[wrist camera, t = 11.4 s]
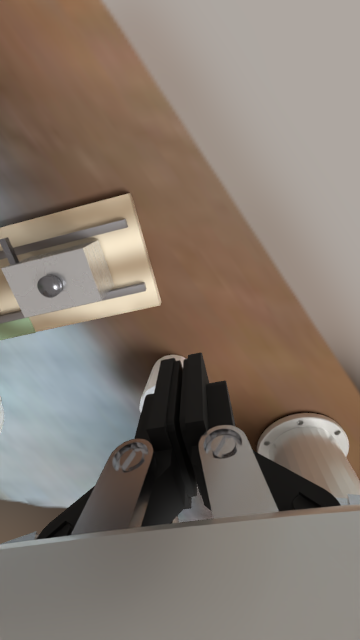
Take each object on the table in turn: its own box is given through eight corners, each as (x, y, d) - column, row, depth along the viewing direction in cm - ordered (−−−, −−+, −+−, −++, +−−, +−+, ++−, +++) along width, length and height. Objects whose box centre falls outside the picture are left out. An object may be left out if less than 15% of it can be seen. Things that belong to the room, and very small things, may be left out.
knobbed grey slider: (114, 285, 32) (99, 303, 27) (47, 300, 33) (20, 320, 28) (90, 215, 30) (68, 221, 24) (18, 234, 30) (-18, 243, 25)
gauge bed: (161, 301, 35) (154, 327, 28) (-35, 343, 38) (-83, 376, 31) (131, 193, 30) (114, 193, 23) (-89, 251, 33) (-159, 266, 27)
